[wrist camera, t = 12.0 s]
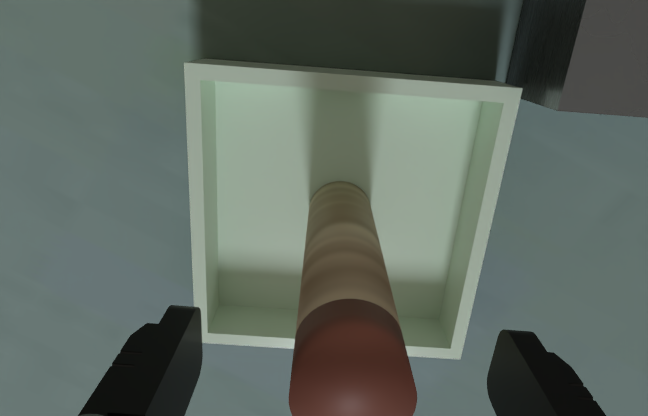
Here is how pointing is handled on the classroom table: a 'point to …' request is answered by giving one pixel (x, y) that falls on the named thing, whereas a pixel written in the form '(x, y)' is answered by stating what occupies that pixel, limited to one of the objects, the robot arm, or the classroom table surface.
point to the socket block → (583, 56)
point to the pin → (347, 316)
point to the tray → (349, 166)
